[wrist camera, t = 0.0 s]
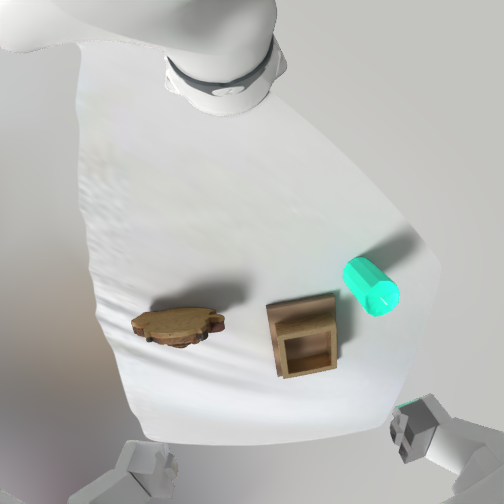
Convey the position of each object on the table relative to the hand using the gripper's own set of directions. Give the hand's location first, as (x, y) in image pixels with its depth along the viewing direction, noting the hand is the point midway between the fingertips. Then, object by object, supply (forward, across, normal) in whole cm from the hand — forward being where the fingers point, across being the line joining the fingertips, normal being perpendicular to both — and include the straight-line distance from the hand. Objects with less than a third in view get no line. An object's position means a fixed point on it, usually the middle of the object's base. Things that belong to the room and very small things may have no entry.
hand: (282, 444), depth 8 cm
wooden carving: (+40, +15, +11) cm, 44 cm away
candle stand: (+41, -6, +20) cm, 46 cm away
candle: (+40, -17, +9) cm, 44 cm away
